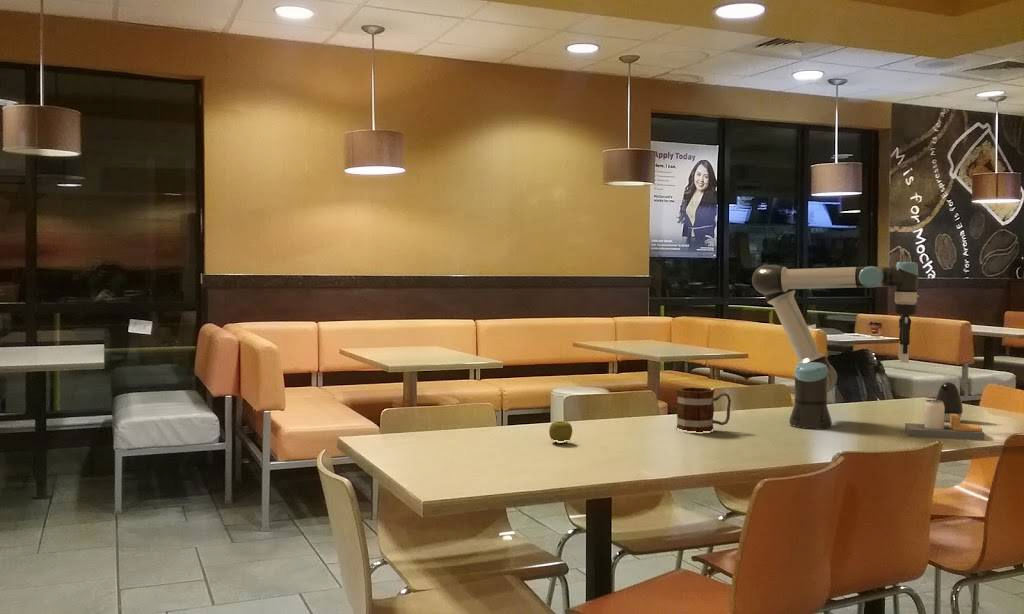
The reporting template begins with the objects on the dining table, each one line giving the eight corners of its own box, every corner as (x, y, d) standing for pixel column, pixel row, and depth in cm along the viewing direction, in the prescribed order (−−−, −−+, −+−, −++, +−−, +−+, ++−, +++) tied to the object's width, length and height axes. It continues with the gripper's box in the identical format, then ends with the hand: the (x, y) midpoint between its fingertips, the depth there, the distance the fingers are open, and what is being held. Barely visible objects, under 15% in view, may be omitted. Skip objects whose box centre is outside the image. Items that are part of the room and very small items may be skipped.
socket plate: (908, 436, 322) (908, 429, 322) (904, 429, 335) (904, 423, 335) (984, 440, 314) (984, 433, 314) (977, 433, 328) (977, 426, 327)
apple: (563, 446, 302) (563, 424, 302) (544, 443, 307) (544, 422, 307) (576, 443, 308) (577, 422, 308) (558, 440, 313) (558, 419, 313)
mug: (679, 433, 326) (679, 392, 325) (673, 427, 339) (674, 387, 339) (734, 434, 325) (735, 392, 325) (726, 427, 339) (727, 387, 338)
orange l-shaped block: (953, 430, 319) (954, 417, 319) (950, 426, 328) (950, 413, 328) (982, 431, 317) (982, 418, 316) (977, 427, 325) (978, 414, 325)
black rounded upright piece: (928, 420, 357) (929, 381, 356) (941, 417, 363) (942, 379, 363) (954, 423, 349) (955, 384, 348) (967, 421, 355) (968, 382, 355)
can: (940, 432, 329) (940, 399, 328) (946, 436, 322) (947, 402, 322) (921, 432, 329) (921, 399, 329) (927, 435, 323) (928, 402, 322)
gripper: (919, 305, 324) (916, 364, 325) (914, 302, 348) (912, 358, 349) (896, 304, 327) (894, 363, 328) (893, 302, 350) (890, 357, 351)
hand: (903, 360), depth 338 cm, fingers open, 13 cm apart
